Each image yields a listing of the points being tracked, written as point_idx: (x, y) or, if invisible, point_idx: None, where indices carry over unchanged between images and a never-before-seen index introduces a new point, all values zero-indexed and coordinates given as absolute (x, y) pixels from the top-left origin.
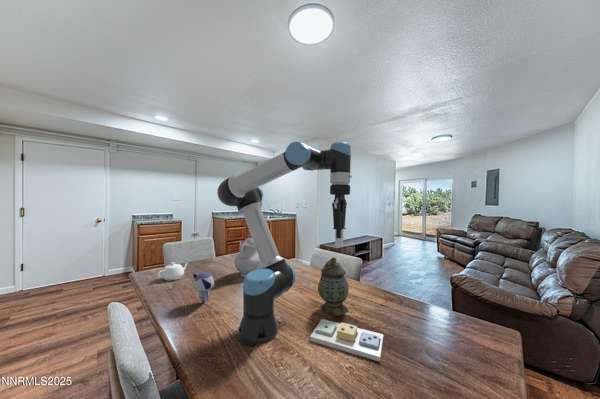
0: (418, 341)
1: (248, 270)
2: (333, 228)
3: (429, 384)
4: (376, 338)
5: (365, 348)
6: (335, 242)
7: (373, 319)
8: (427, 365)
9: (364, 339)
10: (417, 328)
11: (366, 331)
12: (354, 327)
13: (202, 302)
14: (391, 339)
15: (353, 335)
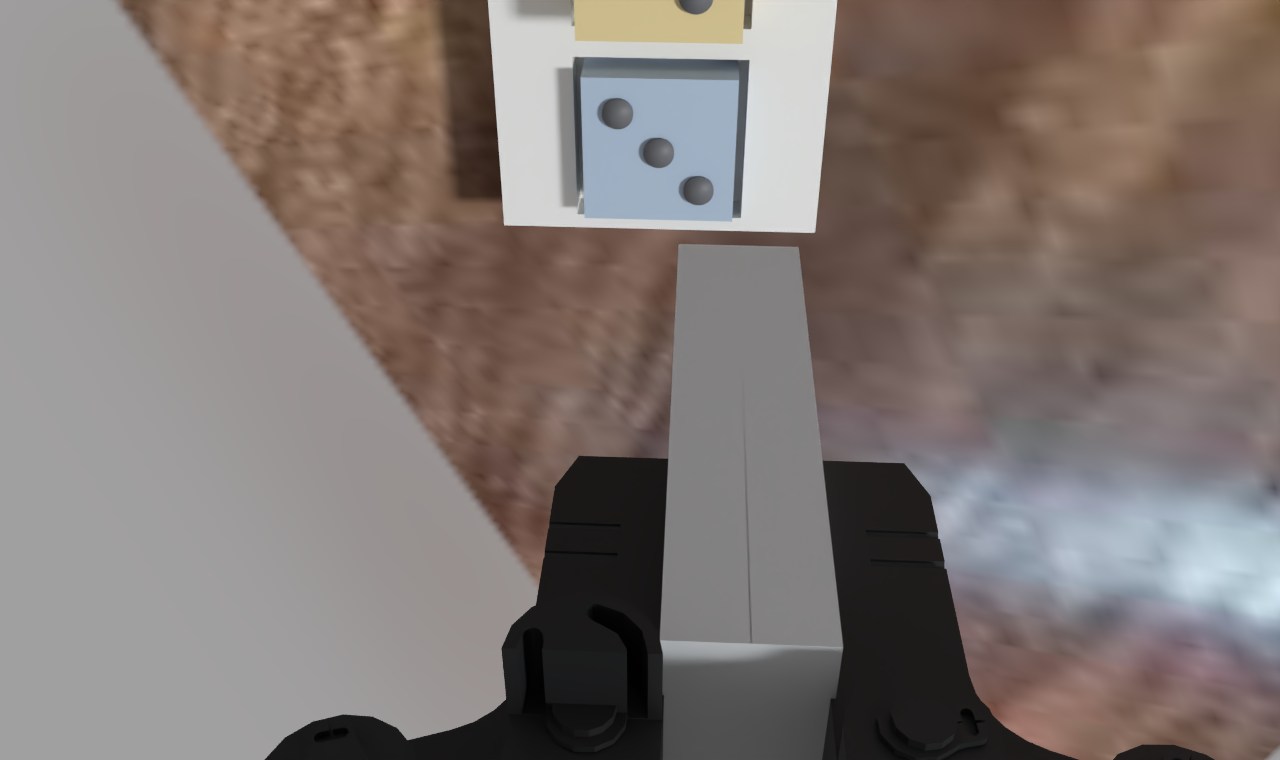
0: (907, 424)
1: None
2: (521, 633)
3: (493, 437)
4: (685, 200)
5: (548, 119)
6: (678, 315)
7: (1169, 100)
8: (655, 446)
9: (614, 115)
10: (1098, 432)
11: (804, 97)
12: (706, 24)
13: None
14: (862, 260)
15: (575, 35)
